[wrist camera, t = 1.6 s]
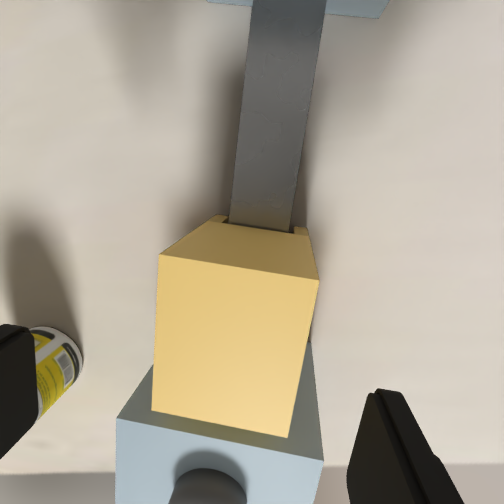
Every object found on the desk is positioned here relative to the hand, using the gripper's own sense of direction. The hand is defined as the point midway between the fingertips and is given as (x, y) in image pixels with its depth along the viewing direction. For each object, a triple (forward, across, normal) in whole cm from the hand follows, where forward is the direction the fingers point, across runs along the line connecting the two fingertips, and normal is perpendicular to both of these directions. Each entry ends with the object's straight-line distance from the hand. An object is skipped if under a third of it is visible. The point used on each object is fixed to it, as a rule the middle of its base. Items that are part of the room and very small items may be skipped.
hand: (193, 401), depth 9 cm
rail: (+10, -1, -5) cm, 11 cm away
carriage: (+10, -1, 0) cm, 10 cm away
